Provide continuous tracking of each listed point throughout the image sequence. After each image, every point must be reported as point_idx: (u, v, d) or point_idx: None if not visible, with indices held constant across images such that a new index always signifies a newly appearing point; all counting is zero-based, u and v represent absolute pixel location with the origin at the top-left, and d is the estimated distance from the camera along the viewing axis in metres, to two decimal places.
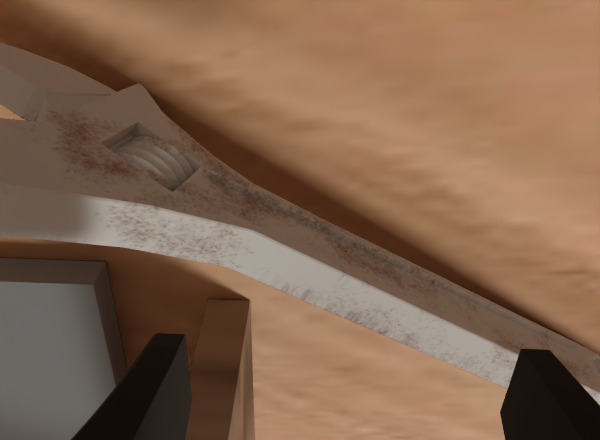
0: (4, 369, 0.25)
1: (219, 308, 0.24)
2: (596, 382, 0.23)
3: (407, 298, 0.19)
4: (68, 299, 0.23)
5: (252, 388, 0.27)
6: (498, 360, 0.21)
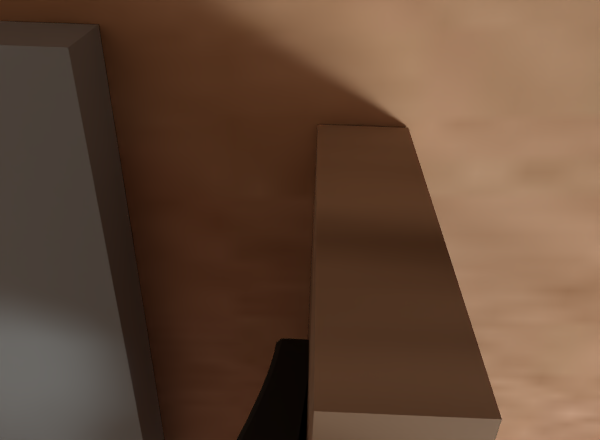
0: None
1: (347, 137, 0.11)
2: None
3: None
4: (10, 92, 0.10)
5: None
6: None
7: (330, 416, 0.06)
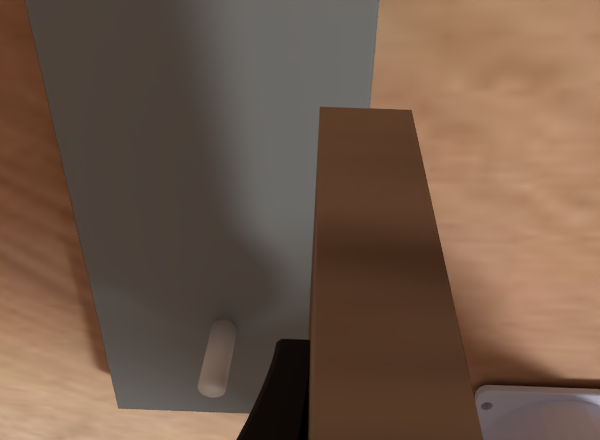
0: (217, 142, 0.18)
1: (349, 123, 0.11)
2: None
3: None
4: (338, 10, 0.16)
5: None
6: None
7: None
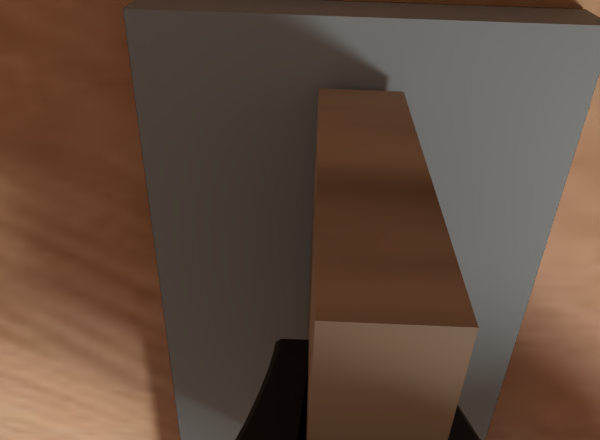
0: None
1: (346, 100, 0.12)
2: None
3: None
4: (548, 62, 0.12)
5: None
6: None
7: (329, 325, 0.06)
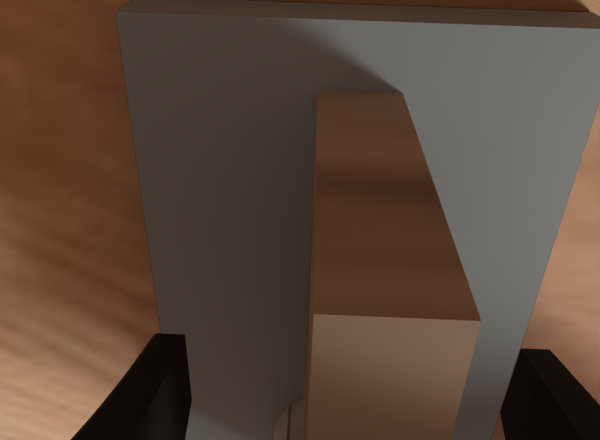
0: None
1: (345, 101, 0.12)
2: None
3: None
4: (554, 67, 0.12)
5: None
6: None
7: (328, 319, 0.06)
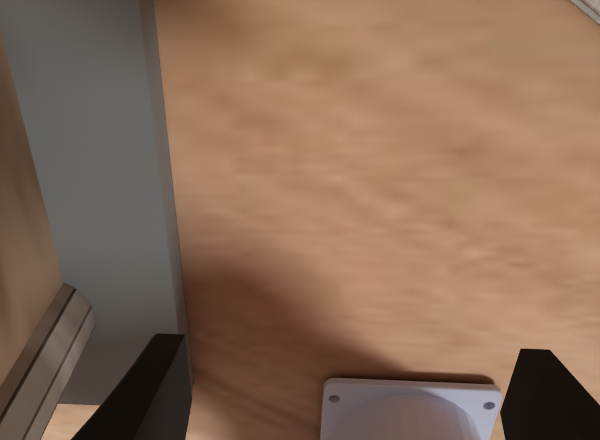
0: None
1: None
2: None
3: None
4: None
5: (35, 182, 0.19)
6: None
7: None
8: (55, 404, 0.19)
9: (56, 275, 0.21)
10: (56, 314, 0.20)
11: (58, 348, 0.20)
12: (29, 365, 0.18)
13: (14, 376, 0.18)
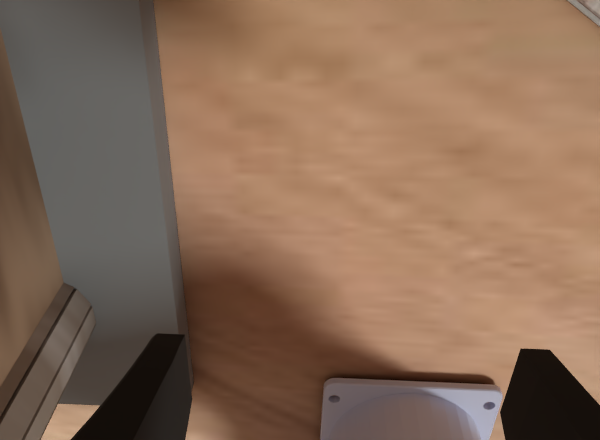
0: None
1: None
2: None
3: None
4: None
5: (35, 182, 0.19)
6: None
7: None
8: (55, 404, 0.19)
9: (56, 275, 0.21)
10: (56, 314, 0.20)
11: (58, 348, 0.20)
12: (29, 365, 0.18)
13: (14, 376, 0.18)
